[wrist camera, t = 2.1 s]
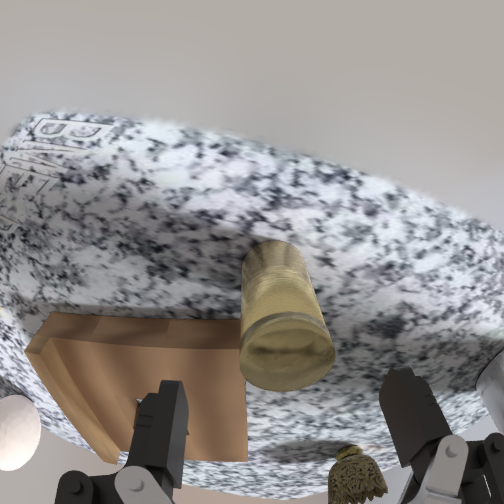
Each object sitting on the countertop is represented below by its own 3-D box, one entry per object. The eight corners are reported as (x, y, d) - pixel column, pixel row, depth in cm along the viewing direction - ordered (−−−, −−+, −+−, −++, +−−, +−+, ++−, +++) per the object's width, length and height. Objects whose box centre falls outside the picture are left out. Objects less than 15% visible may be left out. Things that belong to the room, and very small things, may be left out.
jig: (243, 319, 21) (242, 372, 17) (247, 439, 29) (248, 477, 25) (51, 311, 21) (24, 351, 16) (113, 428, 29) (104, 461, 25)
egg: (-2, 373, 26) (-38, 439, 15) (40, 392, 27) (6, 468, 16) (17, 405, 29) (-10, 466, 19) (57, 422, 30) (32, 490, 19)
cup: (316, 447, 31) (324, 502, 24) (374, 430, 30) (389, 484, 23) (325, 465, 34) (332, 512, 27) (375, 451, 33) (387, 497, 26)
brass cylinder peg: (307, 239, 19) (342, 324, 11) (302, 295, 20) (327, 388, 13) (240, 240, 18) (237, 328, 11) (241, 296, 20) (240, 393, 13)
